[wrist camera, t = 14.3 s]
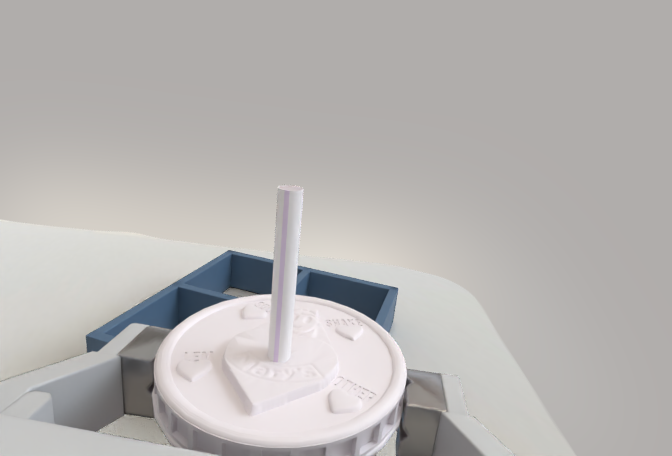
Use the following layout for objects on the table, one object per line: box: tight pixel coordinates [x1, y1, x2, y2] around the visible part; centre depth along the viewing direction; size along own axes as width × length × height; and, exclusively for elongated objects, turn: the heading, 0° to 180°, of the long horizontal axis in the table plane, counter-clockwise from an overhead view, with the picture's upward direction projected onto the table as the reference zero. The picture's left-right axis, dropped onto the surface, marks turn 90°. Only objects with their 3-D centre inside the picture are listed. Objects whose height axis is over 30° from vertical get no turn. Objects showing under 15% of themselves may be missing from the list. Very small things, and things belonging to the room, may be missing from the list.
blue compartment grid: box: [86, 250, 398, 353], centre depth 32 cm, size 17×17×4 cm
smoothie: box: [152, 185, 407, 456], centre depth 12 cm, size 6×6×14 cm
